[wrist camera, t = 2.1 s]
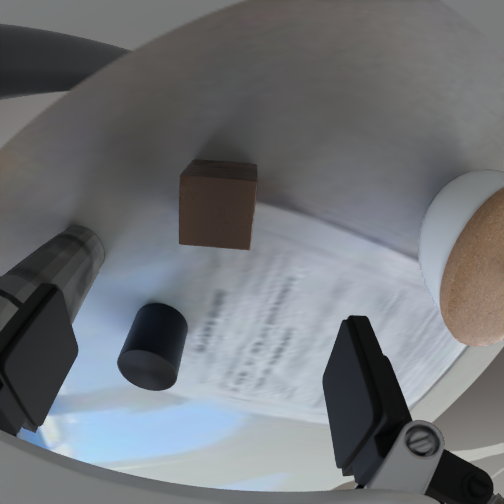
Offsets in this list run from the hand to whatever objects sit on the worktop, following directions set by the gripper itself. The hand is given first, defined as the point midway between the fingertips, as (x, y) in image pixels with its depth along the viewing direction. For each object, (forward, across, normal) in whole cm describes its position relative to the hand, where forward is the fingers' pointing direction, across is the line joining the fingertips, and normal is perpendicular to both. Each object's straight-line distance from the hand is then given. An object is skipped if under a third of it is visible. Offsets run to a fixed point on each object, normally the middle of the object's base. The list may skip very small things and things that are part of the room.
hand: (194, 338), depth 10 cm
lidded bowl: (+16, -20, 0) cm, 25 cm away
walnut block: (+15, 0, 0) cm, 15 cm away
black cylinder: (+15, +6, +13) cm, 20 cm away
